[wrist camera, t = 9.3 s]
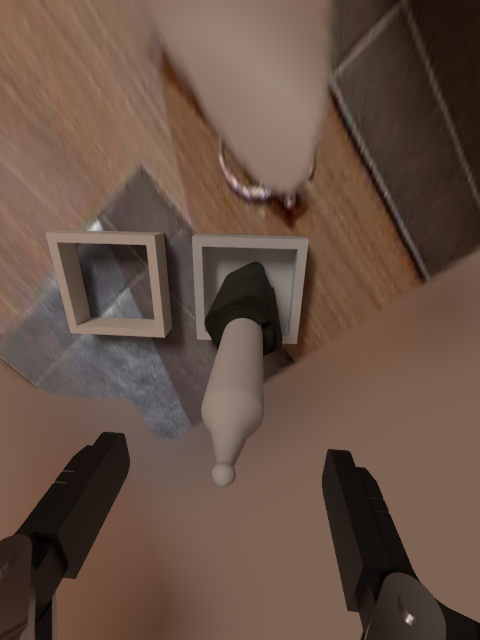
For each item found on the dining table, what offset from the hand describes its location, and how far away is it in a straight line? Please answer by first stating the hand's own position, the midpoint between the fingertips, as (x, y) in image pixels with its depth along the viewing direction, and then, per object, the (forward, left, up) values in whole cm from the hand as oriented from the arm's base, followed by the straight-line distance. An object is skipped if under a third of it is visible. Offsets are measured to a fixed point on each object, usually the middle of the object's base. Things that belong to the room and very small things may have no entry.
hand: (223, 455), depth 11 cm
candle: (0, 0, -24) cm, 24 cm away
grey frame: (0, -16, -24) cm, 29 cm away
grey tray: (0, 0, -24) cm, 24 cm away
